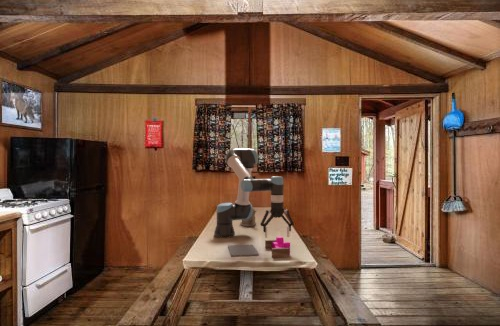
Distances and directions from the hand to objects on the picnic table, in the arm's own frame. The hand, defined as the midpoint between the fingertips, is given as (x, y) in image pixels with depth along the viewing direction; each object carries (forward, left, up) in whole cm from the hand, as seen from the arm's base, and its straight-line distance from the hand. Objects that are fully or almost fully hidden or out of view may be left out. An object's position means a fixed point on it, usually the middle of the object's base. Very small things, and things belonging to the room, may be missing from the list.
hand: (277, 237), depth 197 cm
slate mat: (-6, -20, -9) cm, 23 cm away
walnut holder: (0, 0, -9) cm, 9 cm away
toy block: (-1, +3, -10) cm, 10 cm away
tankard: (-81, -4, -10) cm, 82 cm away
